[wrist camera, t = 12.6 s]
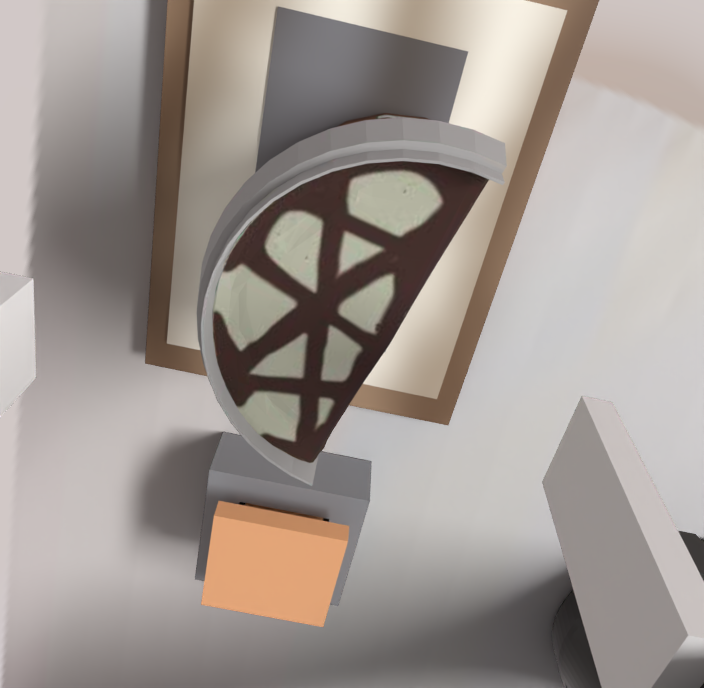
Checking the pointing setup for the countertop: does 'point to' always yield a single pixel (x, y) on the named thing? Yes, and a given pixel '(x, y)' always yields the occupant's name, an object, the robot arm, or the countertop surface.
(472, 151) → the food container
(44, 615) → the countertop surface
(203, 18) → the drawing board
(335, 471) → the button housing
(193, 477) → the countertop surface
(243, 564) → the button
